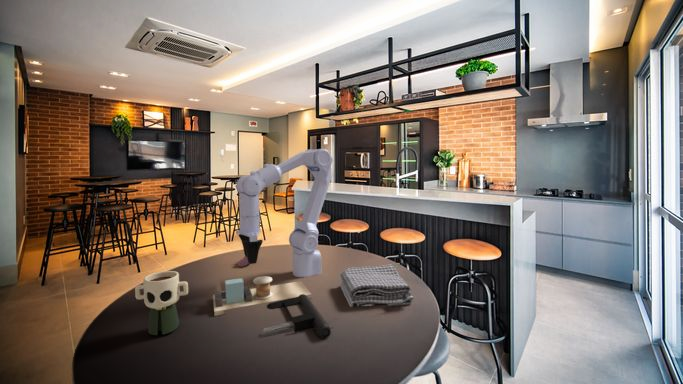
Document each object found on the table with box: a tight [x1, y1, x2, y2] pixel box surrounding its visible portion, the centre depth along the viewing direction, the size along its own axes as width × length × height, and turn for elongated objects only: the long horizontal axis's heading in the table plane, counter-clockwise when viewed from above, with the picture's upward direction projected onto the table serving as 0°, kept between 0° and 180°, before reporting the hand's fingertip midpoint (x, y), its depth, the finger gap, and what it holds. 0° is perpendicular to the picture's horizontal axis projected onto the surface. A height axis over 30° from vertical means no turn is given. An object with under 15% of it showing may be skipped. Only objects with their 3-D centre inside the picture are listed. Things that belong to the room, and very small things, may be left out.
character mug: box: [134, 270, 189, 336], centre depth 72 cm, size 11×7×13 cm, turn 104°
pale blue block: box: [224, 277, 245, 304], centre depth 85 cm, size 4×3×6 cm, turn 114°
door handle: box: [258, 294, 334, 339], centre depth 76 cm, size 3×20×16 cm
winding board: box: [212, 275, 313, 317], centre depth 89 cm, size 26×11×6 cm, turn 114°
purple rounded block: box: [237, 256, 251, 268], centre depth 121 cm, size 10×5×7 cm, turn 0°
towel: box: [339, 263, 414, 308], centre depth 90 cm, size 15×18×8 cm
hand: (250, 259), depth 95 cm, fingers open, 7 cm apart
